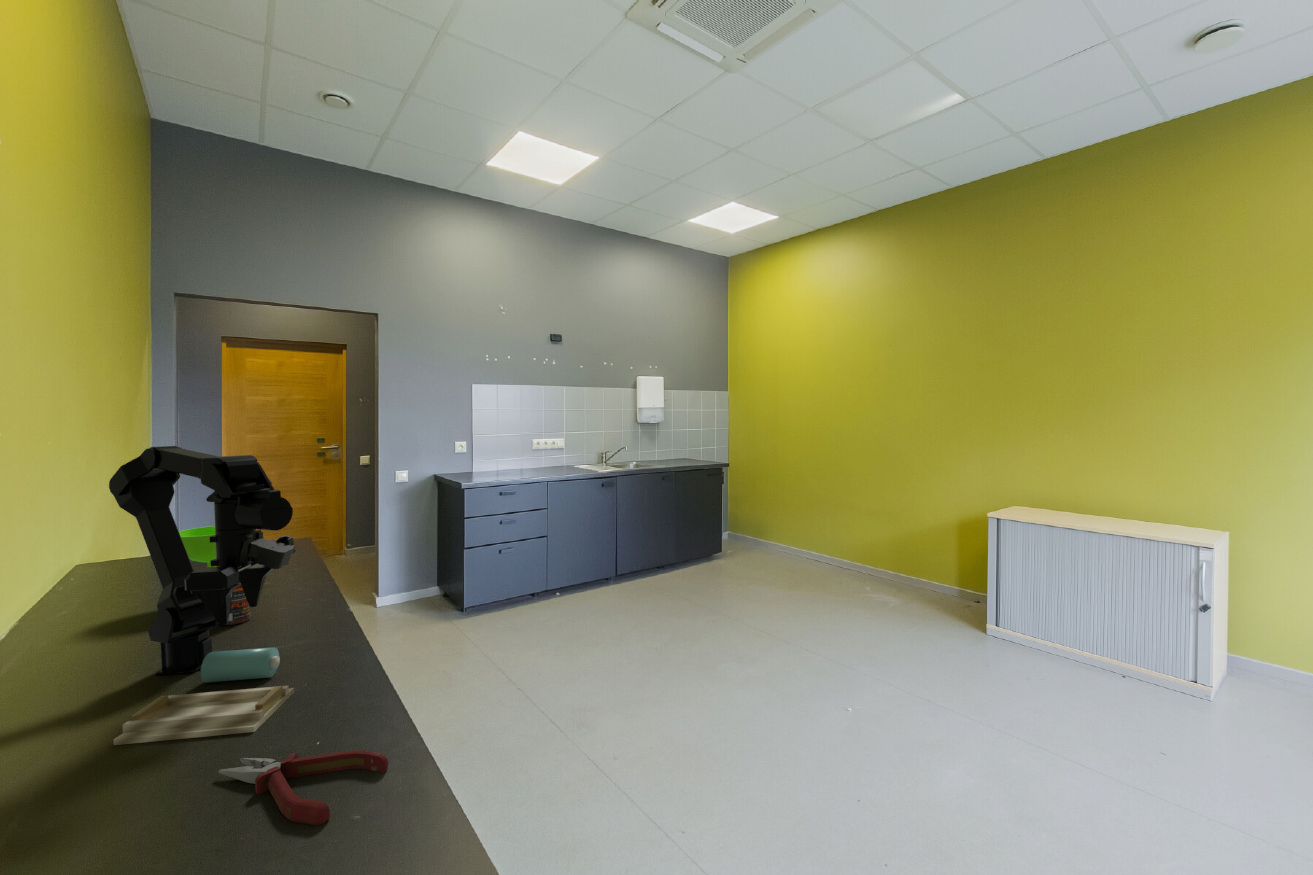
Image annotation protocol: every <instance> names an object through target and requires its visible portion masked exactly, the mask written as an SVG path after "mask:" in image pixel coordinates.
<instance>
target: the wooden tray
mask: <svg viewBox="0 0 1313 875" xmlns="http://www.w3.org/2000/svg"><path fill="white" fill-rule="evenodd" d="M289 687H290V686H289V685H278V686H277V685H276V686H267V687H256V688H255V687H254V688H245V689H243V688H242V689H241V688H240V689H232V690H219V691H208V692H196V693H185V694H173V695H161V696H158V697H157V698H156V699H154V700H153V701H151V702H149V704H147V705H145V706H144V707H142V708H141V709H140V710H139V709H138V711H136V712H135V713H133V714H131V720H127V721H126V722H124V723H123V724H122V725H121V726H122V733H121V734H119V735H118V736H116V737H115V738H114V739H113V746H121V745H130V744H140V743H141V744H142V743H150V742H151V743H152V742H161V741H162V742H163V741H173V740H182V739H183V740H184V739H193V738H205V737H213V736H214V737H216V736H223V735H224V736H225V735H227V736H228V735H237V734H245V733H247V734H248V733H255V732H256V731H257V730H258V729H259V728H260V727H261V726H262V725H263V724H264V723H265V722H266V721H267V720H268V719H270V717H271V716H272V715H273V714H274V713H275V712H276V711H277V710H278V709H279V708H280V707H281V706H282V705H283V704H284V703H286V701H288V699H290V697H291V696H292V695H293V694H294V693H295V688H294V687H290V688H289Z"/></svg>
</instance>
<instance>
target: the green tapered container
mask: <svg viewBox="0 0 1313 875" xmlns="http://www.w3.org/2000/svg"><path fill="white" fill-rule="evenodd" d="M178 531H179V534H180V536H181V539H182V541H183V544H184V547H185V549H186V552H187V554H188V557H189V559H190V561H192V562H198V563H207V564H206V565H207V566H206V567H218V566H211V560H213V559H216V542H211V543H210V536H213V535H215V525H209V526H202V527H201V526H200V527H194V528H189V529H188V528H187V529H184V530H183V529H182V530H178Z"/></svg>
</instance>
